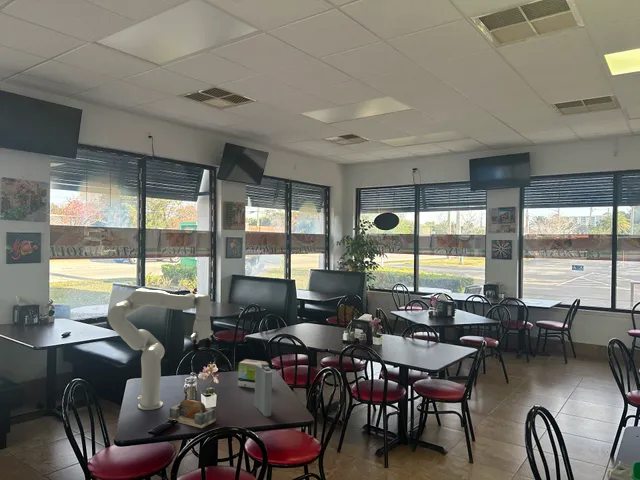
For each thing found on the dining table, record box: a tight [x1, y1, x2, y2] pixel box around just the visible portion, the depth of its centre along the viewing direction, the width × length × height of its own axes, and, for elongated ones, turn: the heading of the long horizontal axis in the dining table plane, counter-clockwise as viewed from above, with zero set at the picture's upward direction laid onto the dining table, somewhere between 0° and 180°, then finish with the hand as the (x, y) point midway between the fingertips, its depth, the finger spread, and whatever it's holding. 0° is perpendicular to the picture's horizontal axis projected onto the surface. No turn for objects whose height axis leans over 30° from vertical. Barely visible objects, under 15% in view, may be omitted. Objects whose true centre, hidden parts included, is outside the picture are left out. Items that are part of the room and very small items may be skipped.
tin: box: [179, 399, 207, 419], centre depth 234 cm, size 15×3×8 cm, turn 64°
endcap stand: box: [167, 403, 217, 429], centre depth 234 cm, size 10×21×6 cm, turn 64°
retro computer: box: [237, 358, 268, 389], centre depth 291 cm, size 15×10×15 cm, turn 73°
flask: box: [254, 362, 273, 417], centre depth 250 cm, size 17×5×25 cm, turn 27°
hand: (201, 349), depth 254 cm, fingers open, 9 cm apart
